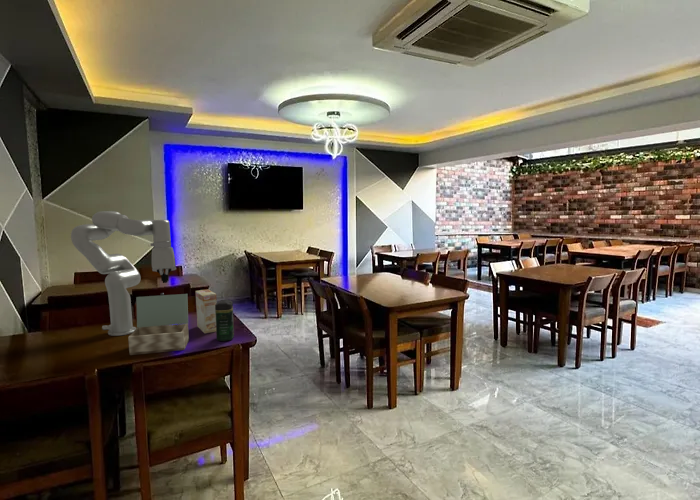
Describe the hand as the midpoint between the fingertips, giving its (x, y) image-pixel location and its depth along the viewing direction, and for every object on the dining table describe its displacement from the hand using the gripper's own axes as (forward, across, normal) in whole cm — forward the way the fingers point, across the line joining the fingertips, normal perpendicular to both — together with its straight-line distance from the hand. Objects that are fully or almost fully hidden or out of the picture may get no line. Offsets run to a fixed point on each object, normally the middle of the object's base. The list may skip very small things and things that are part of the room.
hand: (165, 282), depth 195 cm
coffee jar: (+27, +28, -14) cm, 41 cm away
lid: (+11, 0, -10) cm, 15 cm away
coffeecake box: (+27, +18, +5) cm, 33 cm away
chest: (+27, 0, -18) cm, 32 cm away
